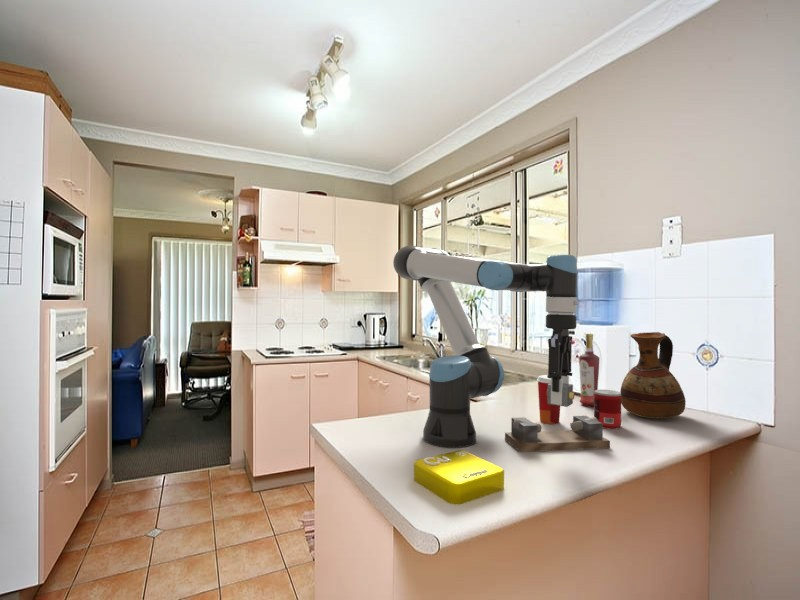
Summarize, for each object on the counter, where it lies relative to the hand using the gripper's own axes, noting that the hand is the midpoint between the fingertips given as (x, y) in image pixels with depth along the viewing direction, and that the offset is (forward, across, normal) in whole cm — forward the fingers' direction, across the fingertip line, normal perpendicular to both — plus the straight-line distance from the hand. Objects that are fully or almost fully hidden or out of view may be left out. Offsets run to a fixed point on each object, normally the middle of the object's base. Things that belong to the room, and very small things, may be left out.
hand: (559, 401), depth 109 cm
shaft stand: (+14, +7, +3) cm, 16 cm away
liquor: (+14, +62, +6) cm, 64 cm away
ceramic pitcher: (+14, +60, -15) cm, 64 cm away
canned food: (+14, +36, -5) cm, 39 cm away
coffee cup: (+14, +28, +11) cm, 34 cm away
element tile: (+14, -33, +12) cm, 38 cm away
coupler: (0, 0, 0) cm, 0 cm away
